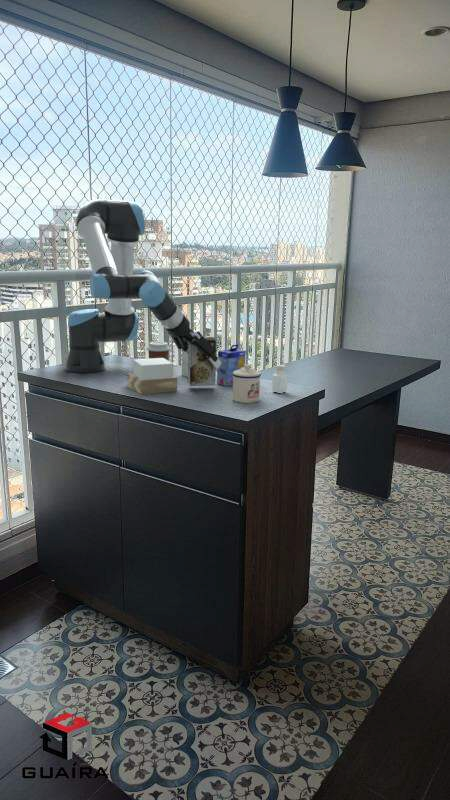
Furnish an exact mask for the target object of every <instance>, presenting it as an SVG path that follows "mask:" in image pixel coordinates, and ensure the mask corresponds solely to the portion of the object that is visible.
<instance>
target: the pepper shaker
mask: <svg viewBox="0 0 450 800" xmlns="http://www.w3.org/2000/svg"><path fill="white" fill-rule="evenodd" d="M285 373H286V365H285V364H276V365H275V374H273V375H272V383H271V384H272V385H271V392H272V391H273V392H272V393H274V392H278V393H282V394H284V393H283V392H285V393H287V392H286V391H288V375H287V374H285ZM278 393H277V394H278Z"/></svg>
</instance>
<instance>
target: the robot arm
mask: <svg viewBox="0 0 450 800" xmlns="http://www.w3.org/2000/svg"><path fill="white" fill-rule="evenodd" d="M145 220H146V219H145V214H144V211H143V207H142V206H141V204H140V203H139V202H136V201H129V200H119V199H102V198H101V199H99V198H96V199H92V200H89V201H88V202H86V203H85V204H84V205H83V206H82V207H81V208H80V210H79V211H78V213H77V216H76V221H75V223H76V224H75V226H76V230H77V233H78V235H79V236H80V237H81V239H82V240H83V243H84V246H85V251H86V253H87V257H88V259H89V263H90V267H91V269H92V274H91V276H90V277H89V290H90V294H91V296H92V298H94V299H102V300H108V303H107V305H105V306H104V312H100V310H99V309H98V308H86V309H79V310H75V311H72V312H70V313H69V314H68V316H67V317H68V319H67V321H68V323H67V327H68V345H69V347H68V348H69V350H68V355H67V358H66V361H65V371H67V372H70V373H75V374H76V373H77V374H78V373H79V374H85V373H86V374H88V373H90V374H91V373H99V372H102V371H104V370H106V364H105V360H104V357H103V355H102V352H101V346H100V345H101V343H117V342H119V343H120V342H121V343H125V342H132V341H134V340H135V339H136V337H137V335H138V332H139V325H140V322H139V321H140V319H139V314H138V313H137V312H135V311H136V310H135V308H134V306H132V299H137V300H139V299H140V300H141V301H142V303H143V304H144V305H145V306H146V307H147V308H148V309H149V311H150V312H151V313H152V314H153V315H154V316H155V318H156V319H157V320H158V321H159V322H160V325H161V326H162V327H163V328H165V330H166V331H167V334H168V335H169V336H170V337H171V339H172V341H173V343H174V344H175V346H176V347H177V349H178V350H181V351H182V350H183V351H185V352H186V354H187V355H188V342H189V343H190V344H191V345H195V346H196V347H197V348H198V349H200V350H201V351H202V352H203V353H205V354H206V355H207V358H208V359H209V360H210V362H211V363H212V364H213V365H214V367H215V368H216V369H218V368H219V366H220V365H221V361H220V360H219V359H218V355H215V353H218V350H217V348H216V349H215V348H214V347H213V346H212V345H211V344H210V343H209V342H208V341H207V340H206V339H205V338H204V337H205V336H203V335H202V333H201V332H200V331H196V332H195V331H193V330H192V329H191V327H190V325H191V323H190V320H189V319H188V318H187V316H186V315H185V314H184V313H183V311H182V310H181V309H180V308H179V306H178V305H177V303H175V301H174V300H173V299H172V298H171V296H170V295H169V293H168V292H167V290H166V288H164V286H163V285H162V284H161V282H160V280H159V278H158V277H157V276H156V275H155V274H154V273H153V272H152V271H151V270H147V269H142V270H139V271H138V272H137V273H135V274H134V261H135V260H134V259H135V258H134V257H135V245H136V244H137V243H138V242H139V241H140V237H141V236H144V234H145V231H146V221H145ZM108 241H109V242H110V245H109V242H108ZM193 339H194V341H193V342H192V340H193Z"/></svg>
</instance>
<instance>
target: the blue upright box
mask: <svg viewBox="0 0 450 800" xmlns="http://www.w3.org/2000/svg"><path fill="white" fill-rule="evenodd" d="M246 353H247V351H246V350H243V349H239V344H233V345H231V346H230V348H229V349H222V350H217V357H218V359H219V360H220V361H221V365H220V366H219V368H218V369H217V371H216V372H217V373H216V384H218V385H221V386H225V387H228V386H229V387H230V386H233V372H234V371H236V370H239V369H240V368H243V367H244V365H245V364H246V357H247V356H246V355H247V354H246Z"/></svg>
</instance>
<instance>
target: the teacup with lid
mask: <svg viewBox="0 0 450 800" xmlns="http://www.w3.org/2000/svg"><path fill="white" fill-rule="evenodd" d="M261 375H262V374H261V372H260V371H259V370H256V369H254V368H253V367H251V365H250V364H246V363H245V365H244V367H243V368H240V369H239V370H236V371H234V372H233V385H232V400H233V401H234V402H236V403H241V404H253V403H256V402H259V400H260V388H261V387H260V386H261V385H260V383H261V381H260V380H261Z"/></svg>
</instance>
